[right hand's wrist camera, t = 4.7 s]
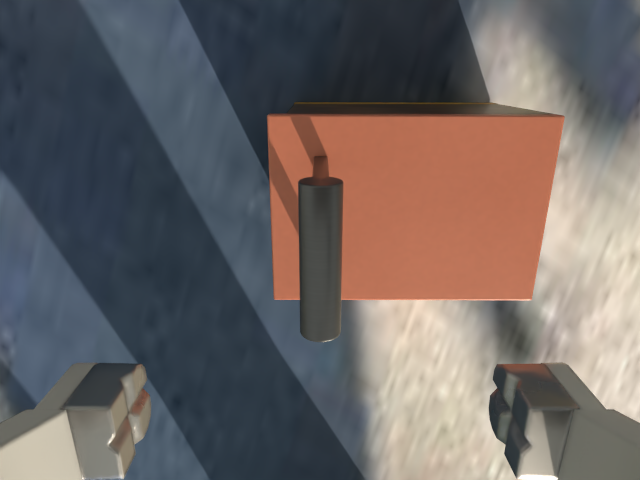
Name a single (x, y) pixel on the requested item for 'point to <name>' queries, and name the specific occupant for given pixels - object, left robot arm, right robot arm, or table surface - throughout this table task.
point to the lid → (406, 208)
